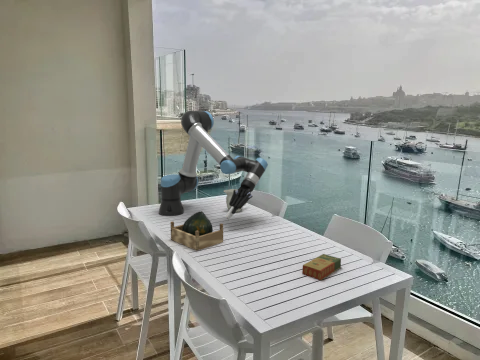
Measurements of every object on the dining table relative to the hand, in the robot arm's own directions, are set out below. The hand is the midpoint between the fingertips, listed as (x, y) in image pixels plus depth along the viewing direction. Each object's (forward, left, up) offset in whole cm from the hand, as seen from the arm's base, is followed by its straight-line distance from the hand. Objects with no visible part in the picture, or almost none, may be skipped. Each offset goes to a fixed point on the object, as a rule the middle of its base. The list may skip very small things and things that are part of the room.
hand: (227, 218), depth 183 cm
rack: (0, -21, -7) cm, 22 cm away
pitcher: (-25, +31, -7) cm, 41 cm away
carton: (+61, -7, -8) cm, 62 cm away
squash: (0, -20, -7) cm, 22 cm away
